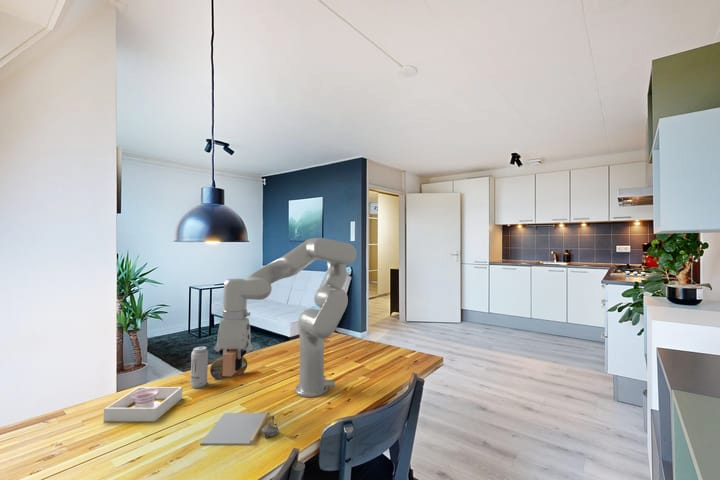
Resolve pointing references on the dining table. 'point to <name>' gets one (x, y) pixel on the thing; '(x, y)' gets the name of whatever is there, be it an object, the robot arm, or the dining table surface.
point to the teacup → (145, 398)
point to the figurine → (270, 429)
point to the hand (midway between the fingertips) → (232, 368)
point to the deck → (229, 362)
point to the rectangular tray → (121, 413)
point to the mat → (236, 429)
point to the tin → (217, 369)
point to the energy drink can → (199, 367)
